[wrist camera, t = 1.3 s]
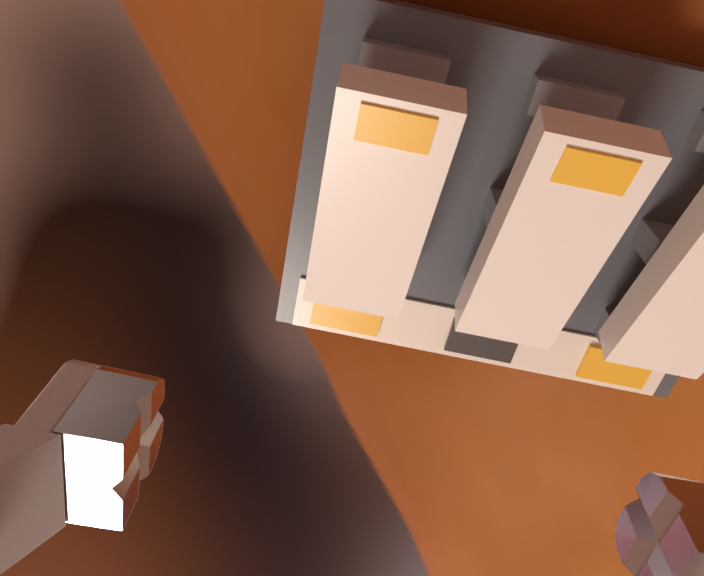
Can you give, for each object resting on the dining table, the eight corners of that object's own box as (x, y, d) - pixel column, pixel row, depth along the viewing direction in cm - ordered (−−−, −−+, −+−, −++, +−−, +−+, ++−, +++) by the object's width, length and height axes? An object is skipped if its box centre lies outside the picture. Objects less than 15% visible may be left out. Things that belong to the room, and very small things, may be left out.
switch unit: (331, -15, 29) (319, -5, 25) (818, 92, 30) (881, 118, 26) (281, 302, 38) (267, 346, 34) (654, 377, 39) (683, 428, 35)
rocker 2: (539, 104, 25) (545, 133, 23) (660, 130, 25) (673, 160, 23) (454, 302, 33) (454, 333, 32) (544, 321, 33) (549, 352, 32)
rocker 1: (343, 62, 24) (336, 88, 23) (466, 88, 25) (467, 116, 23) (309, 273, 33) (301, 302, 31) (400, 291, 33) (397, 321, 32)
